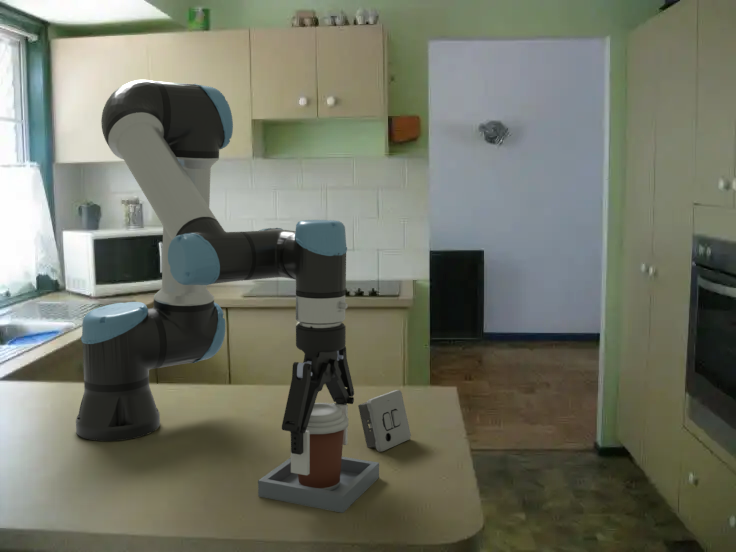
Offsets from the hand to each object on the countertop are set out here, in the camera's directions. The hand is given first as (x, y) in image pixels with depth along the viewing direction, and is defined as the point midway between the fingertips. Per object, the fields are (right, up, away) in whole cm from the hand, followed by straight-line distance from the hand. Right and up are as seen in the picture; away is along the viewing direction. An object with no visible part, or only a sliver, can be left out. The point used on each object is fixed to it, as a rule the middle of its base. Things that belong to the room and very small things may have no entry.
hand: (320, 457), depth 118 cm
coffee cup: (0, -4, 0) cm, 4 cm away
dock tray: (0, -5, +1) cm, 5 cm away
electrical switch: (+10, -2, +20) cm, 23 cm away
